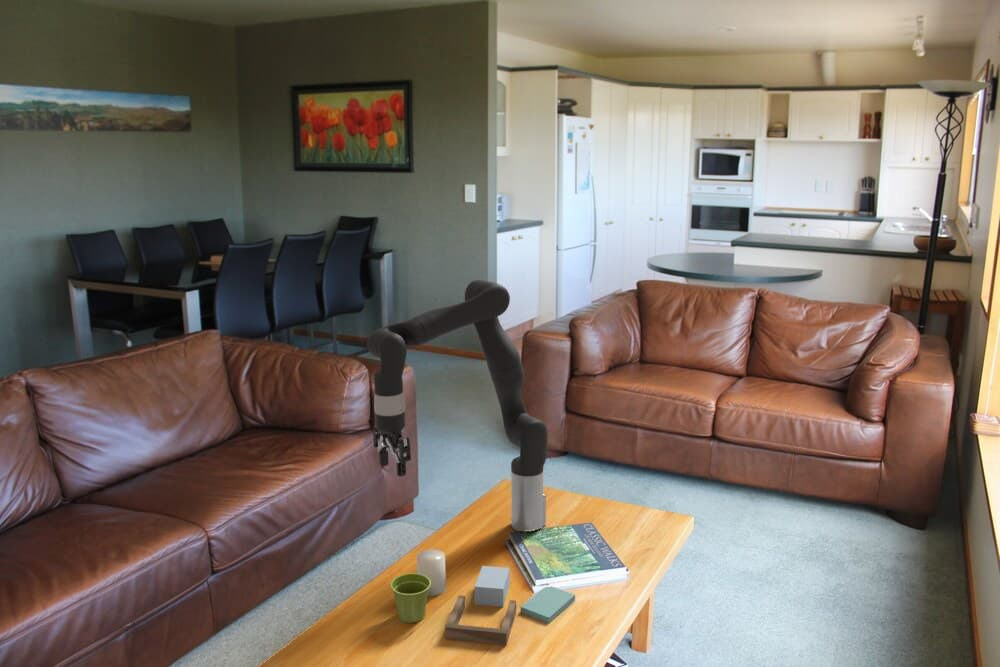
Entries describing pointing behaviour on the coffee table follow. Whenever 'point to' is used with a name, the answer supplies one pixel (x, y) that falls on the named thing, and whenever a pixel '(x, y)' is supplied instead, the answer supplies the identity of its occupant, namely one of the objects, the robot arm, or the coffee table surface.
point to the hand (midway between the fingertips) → (392, 470)
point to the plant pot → (411, 596)
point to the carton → (492, 586)
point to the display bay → (478, 633)
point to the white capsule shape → (433, 570)
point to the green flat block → (547, 604)
